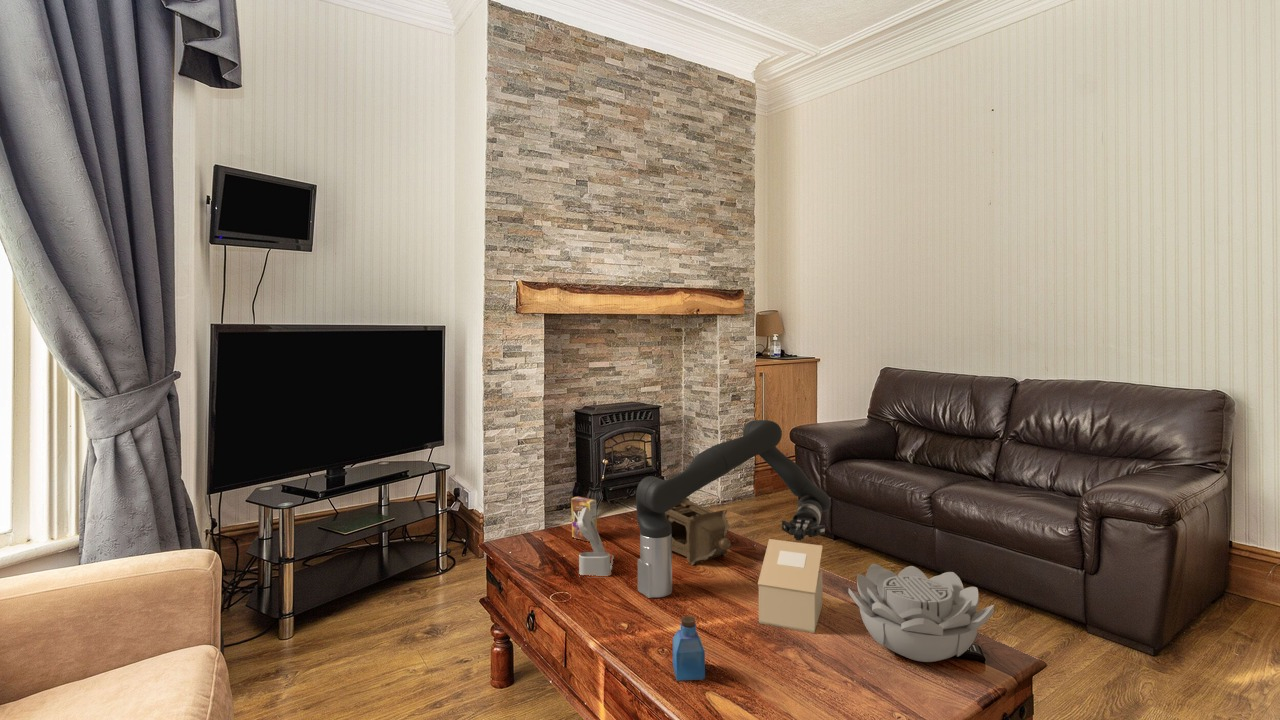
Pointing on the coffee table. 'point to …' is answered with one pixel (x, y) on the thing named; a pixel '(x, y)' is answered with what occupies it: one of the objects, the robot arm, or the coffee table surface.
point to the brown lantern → (698, 531)
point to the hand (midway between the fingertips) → (798, 537)
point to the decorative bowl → (919, 612)
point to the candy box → (577, 507)
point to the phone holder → (599, 558)
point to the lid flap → (791, 566)
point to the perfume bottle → (688, 652)
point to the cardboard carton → (790, 607)
